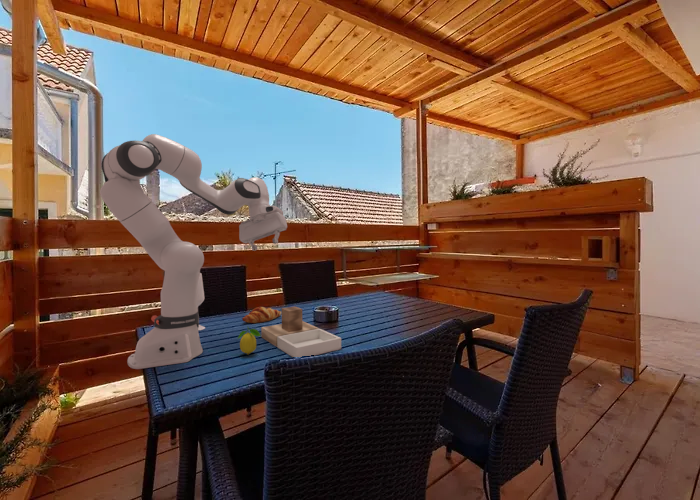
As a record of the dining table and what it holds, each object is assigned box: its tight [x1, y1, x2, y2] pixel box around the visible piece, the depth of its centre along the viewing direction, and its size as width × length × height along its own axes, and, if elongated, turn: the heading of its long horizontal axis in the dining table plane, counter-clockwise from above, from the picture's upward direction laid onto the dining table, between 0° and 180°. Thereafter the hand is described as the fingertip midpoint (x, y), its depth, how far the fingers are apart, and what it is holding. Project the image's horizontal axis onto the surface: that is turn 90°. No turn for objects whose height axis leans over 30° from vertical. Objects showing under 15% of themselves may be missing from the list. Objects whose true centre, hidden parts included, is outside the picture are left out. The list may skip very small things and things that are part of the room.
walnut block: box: [281, 306, 303, 332], centre depth 137 cm, size 6×6×8 cm
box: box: [277, 328, 342, 358], centre depth 127 cm, size 18×15×4 cm
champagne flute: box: [197, 272, 206, 331], centre depth 151 cm, size 7×7×24 cm
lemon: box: [237, 325, 261, 356], centre depth 120 cm, size 7×6×10 cm
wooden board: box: [260, 320, 319, 347], centre depth 139 cm, size 18×14×4 cm
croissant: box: [241, 306, 282, 324], centre depth 166 cm, size 21×10×8 cm, turn 139°
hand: (265, 246), depth 138 cm, fingers open, 8 cm apart
